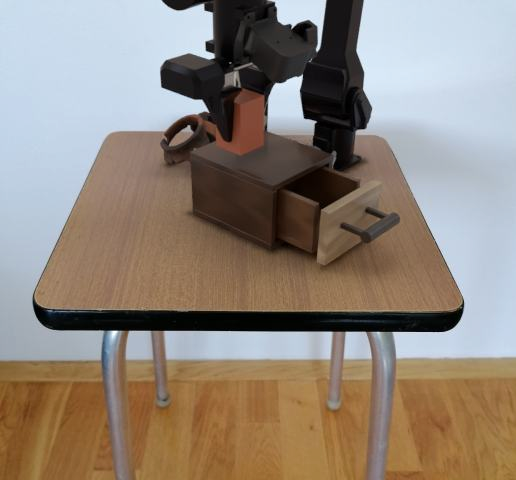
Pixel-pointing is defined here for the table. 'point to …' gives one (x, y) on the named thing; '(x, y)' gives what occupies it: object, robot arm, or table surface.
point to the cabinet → (249, 184)
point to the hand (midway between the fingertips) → (239, 136)
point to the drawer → (330, 213)
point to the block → (245, 124)
